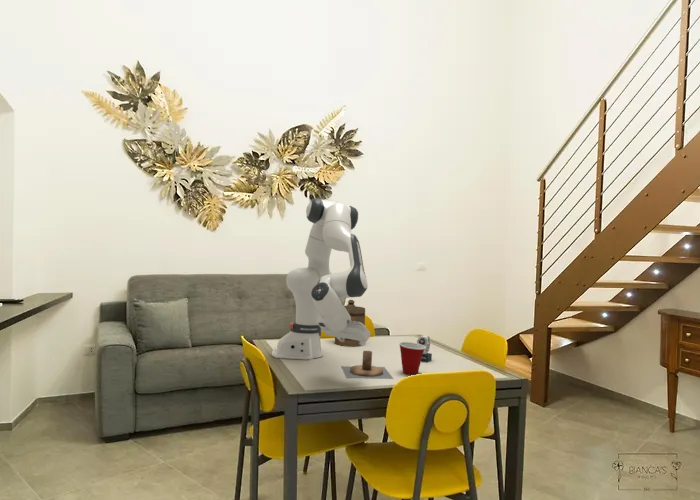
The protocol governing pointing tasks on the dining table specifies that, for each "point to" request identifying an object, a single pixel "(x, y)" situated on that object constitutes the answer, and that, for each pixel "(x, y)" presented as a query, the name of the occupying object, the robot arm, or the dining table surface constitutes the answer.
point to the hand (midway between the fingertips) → (352, 342)
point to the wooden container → (356, 315)
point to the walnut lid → (366, 367)
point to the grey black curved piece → (426, 342)
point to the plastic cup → (411, 357)
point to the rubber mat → (349, 375)
